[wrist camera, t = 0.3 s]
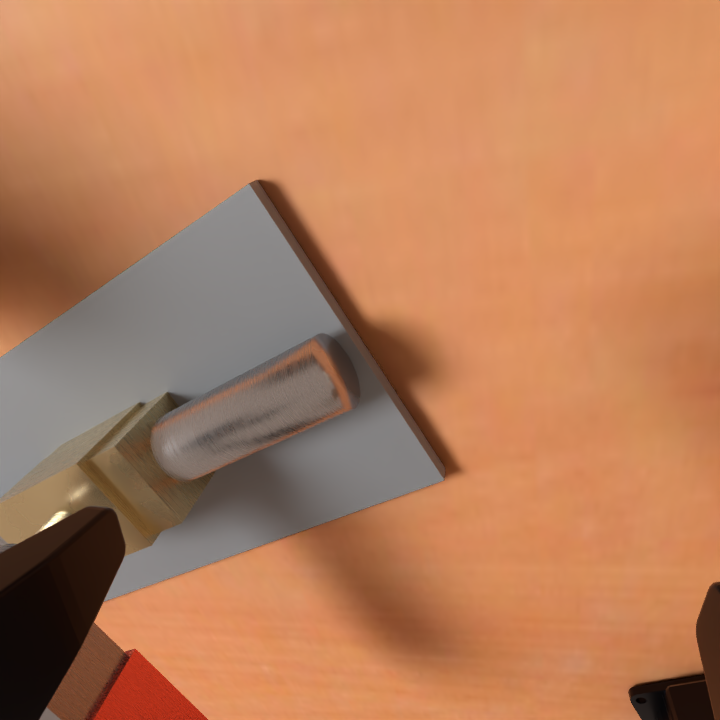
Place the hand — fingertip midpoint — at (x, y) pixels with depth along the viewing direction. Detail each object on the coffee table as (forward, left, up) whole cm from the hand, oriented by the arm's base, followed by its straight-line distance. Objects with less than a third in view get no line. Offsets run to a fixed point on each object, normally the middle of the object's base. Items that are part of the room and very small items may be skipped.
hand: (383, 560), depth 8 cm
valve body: (-1, +17, -13) cm, 21 cm away
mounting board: (-1, +17, -13) cm, 21 cm away
